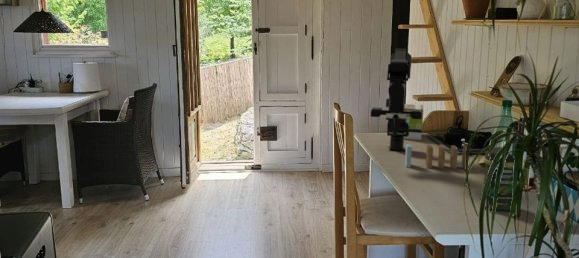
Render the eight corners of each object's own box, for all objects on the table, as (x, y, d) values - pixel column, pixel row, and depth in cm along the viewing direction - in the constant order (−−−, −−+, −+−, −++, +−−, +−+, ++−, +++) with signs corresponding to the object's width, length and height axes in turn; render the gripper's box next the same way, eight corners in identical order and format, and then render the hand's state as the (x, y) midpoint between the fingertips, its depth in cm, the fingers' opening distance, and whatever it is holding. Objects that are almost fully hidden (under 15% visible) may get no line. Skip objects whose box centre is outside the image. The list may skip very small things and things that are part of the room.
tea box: (421, 140, 253) (423, 108, 250) (399, 139, 255) (401, 107, 252) (420, 133, 268) (422, 103, 265) (400, 132, 270) (401, 103, 267)
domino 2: (425, 164, 211) (427, 144, 210) (429, 164, 211) (431, 144, 209) (427, 168, 206) (428, 147, 205) (431, 168, 206) (433, 147, 204)
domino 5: (461, 166, 210) (463, 145, 208) (465, 166, 210) (467, 146, 208) (464, 169, 205) (465, 148, 203) (468, 169, 205) (470, 149, 203)
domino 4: (449, 165, 210) (451, 145, 209) (453, 165, 210) (455, 145, 208) (451, 169, 205) (453, 148, 204) (456, 169, 205) (457, 148, 204)
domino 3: (437, 165, 211) (439, 145, 209) (441, 165, 211) (443, 145, 209) (439, 168, 206) (441, 148, 204) (444, 168, 206) (445, 148, 204)
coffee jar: (483, 210, 161) (488, 149, 157) (477, 202, 169) (482, 143, 165) (517, 212, 160) (523, 151, 156) (510, 203, 168) (515, 144, 164)
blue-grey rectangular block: (405, 163, 212) (406, 143, 210) (409, 164, 212) (410, 143, 210) (406, 167, 207) (407, 146, 205) (410, 167, 207) (411, 146, 205)
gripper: (422, 93, 210) (420, 132, 213) (373, 91, 214) (372, 129, 217) (422, 97, 199) (420, 138, 203) (371, 94, 204) (369, 135, 207)
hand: (395, 135), depth 208 cm, fingers closed
